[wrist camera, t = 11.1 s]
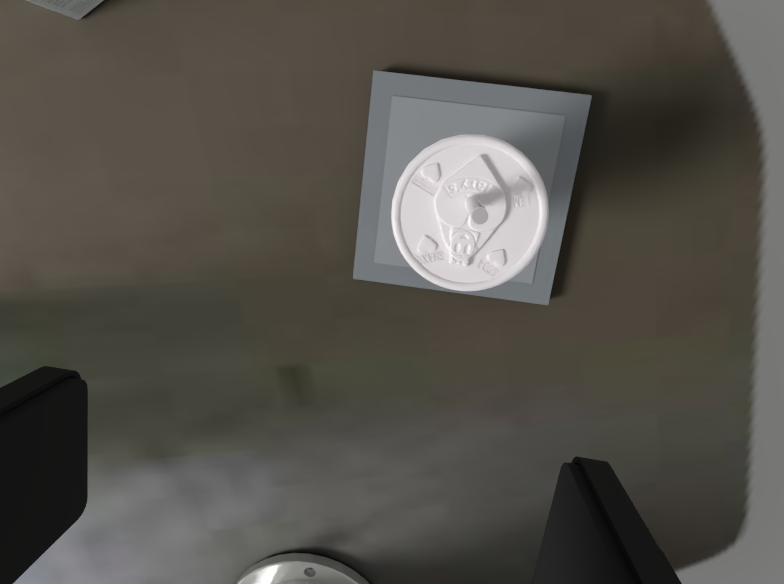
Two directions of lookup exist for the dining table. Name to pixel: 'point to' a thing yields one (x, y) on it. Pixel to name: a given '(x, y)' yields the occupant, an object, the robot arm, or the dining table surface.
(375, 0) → the dining table surface
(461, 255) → the smoothie
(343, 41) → the dining table surface
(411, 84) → the plate
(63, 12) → the supplement box
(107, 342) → the dining table surface
